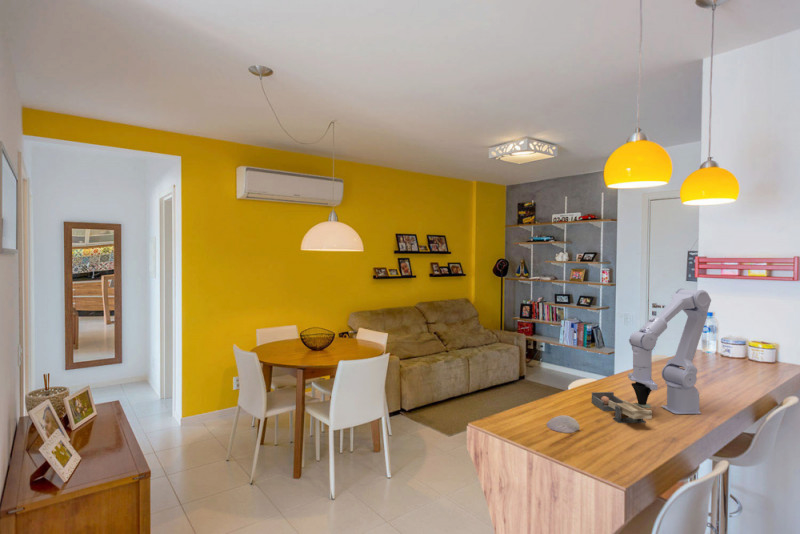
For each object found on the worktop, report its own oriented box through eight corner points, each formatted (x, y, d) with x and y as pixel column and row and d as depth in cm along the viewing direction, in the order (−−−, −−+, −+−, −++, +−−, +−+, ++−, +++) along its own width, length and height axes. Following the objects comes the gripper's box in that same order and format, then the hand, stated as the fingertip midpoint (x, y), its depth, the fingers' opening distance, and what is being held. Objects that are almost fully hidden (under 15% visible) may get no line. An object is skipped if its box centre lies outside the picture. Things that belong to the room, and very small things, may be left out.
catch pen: (612, 402, 165) (612, 392, 165) (625, 410, 156) (625, 399, 156) (591, 402, 165) (591, 392, 165) (603, 411, 156) (603, 400, 156)
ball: (611, 401, 161) (609, 406, 162) (608, 394, 163) (606, 399, 165) (603, 401, 161) (601, 406, 162) (600, 394, 163) (598, 399, 165)
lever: (645, 405, 154) (644, 398, 154) (674, 418, 138) (673, 410, 138) (608, 406, 154) (608, 399, 154) (633, 418, 138) (633, 410, 138)
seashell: (575, 427, 134) (544, 413, 140) (572, 443, 135) (541, 429, 141) (585, 417, 142) (555, 404, 148) (582, 432, 143) (552, 419, 149)
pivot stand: (639, 418, 148) (639, 404, 148) (646, 422, 144) (646, 408, 144) (612, 418, 148) (612, 404, 148) (618, 423, 144) (618, 408, 144)
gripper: (620, 361, 159) (620, 397, 159) (642, 371, 145) (642, 411, 145) (639, 361, 159) (639, 397, 160) (663, 371, 145) (663, 411, 145)
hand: (642, 404), depth 152 cm, fingers closed, pressing on lever
